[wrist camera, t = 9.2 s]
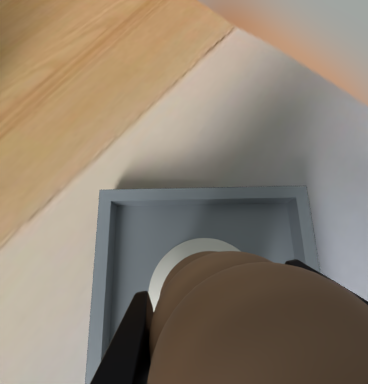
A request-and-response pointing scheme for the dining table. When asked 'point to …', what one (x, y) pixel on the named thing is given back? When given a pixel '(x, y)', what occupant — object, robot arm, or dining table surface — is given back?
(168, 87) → the dining table surface
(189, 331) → the bead column
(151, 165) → the dining table surface
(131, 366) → the robot arm
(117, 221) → the square tray
